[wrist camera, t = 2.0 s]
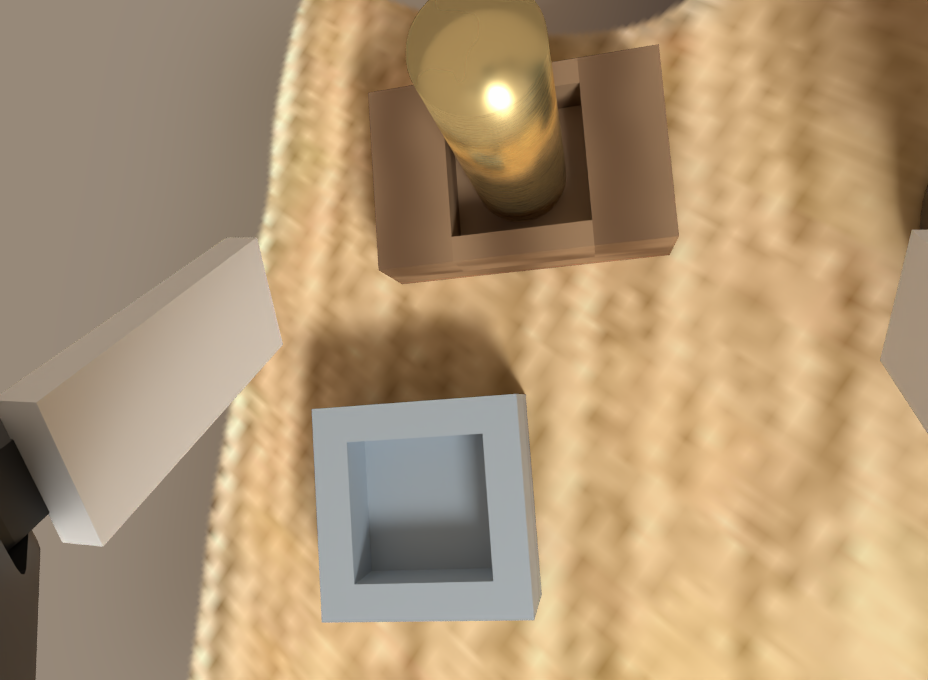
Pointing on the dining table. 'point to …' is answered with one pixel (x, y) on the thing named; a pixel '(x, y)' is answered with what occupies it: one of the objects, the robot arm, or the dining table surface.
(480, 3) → the axle
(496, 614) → the blue-grey square socket
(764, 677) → the dining table surface
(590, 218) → the brown wooden holder
